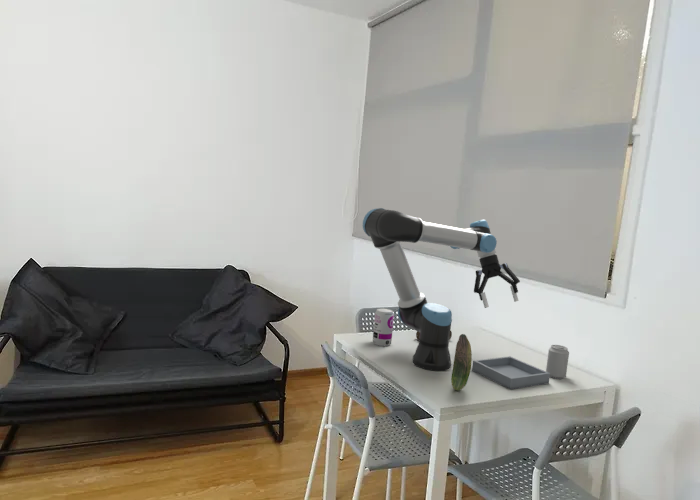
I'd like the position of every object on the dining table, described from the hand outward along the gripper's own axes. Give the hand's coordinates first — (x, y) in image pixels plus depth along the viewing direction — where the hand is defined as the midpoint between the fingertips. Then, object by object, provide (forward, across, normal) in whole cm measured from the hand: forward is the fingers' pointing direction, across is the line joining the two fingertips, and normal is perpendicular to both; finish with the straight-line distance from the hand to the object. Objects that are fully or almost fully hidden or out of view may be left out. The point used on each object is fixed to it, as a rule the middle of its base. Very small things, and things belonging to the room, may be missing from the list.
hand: (501, 304), depth 220 cm
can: (+31, -15, +4) cm, 35 cm away
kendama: (+10, +38, -2) cm, 39 cm away
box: (+26, -4, +20) cm, 33 cm away
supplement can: (+4, +47, +26) cm, 54 cm away
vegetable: (+23, +2, +49) cm, 54 cm away
